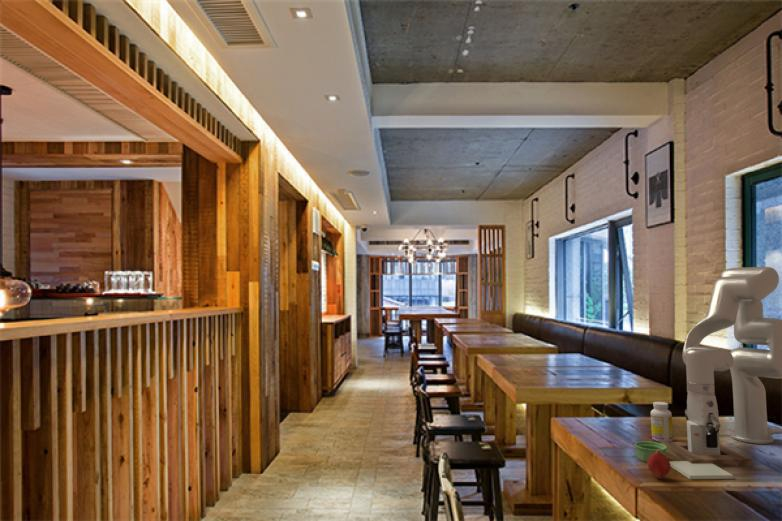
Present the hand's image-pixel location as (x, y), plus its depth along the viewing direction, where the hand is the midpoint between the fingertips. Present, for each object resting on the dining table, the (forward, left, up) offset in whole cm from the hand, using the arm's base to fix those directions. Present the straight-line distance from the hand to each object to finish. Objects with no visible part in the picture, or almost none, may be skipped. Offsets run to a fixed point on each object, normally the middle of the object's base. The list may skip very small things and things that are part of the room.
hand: (702, 443), depth 164 cm
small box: (0, 0, -5) cm, 5 cm away
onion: (+23, +18, -5) cm, 29 cm away
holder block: (0, 0, -4) cm, 4 cm away
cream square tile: (+9, +13, -4) cm, 16 cm away
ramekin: (+17, +2, -5) cm, 18 cm away
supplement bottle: (+4, -18, -5) cm, 19 cm away
